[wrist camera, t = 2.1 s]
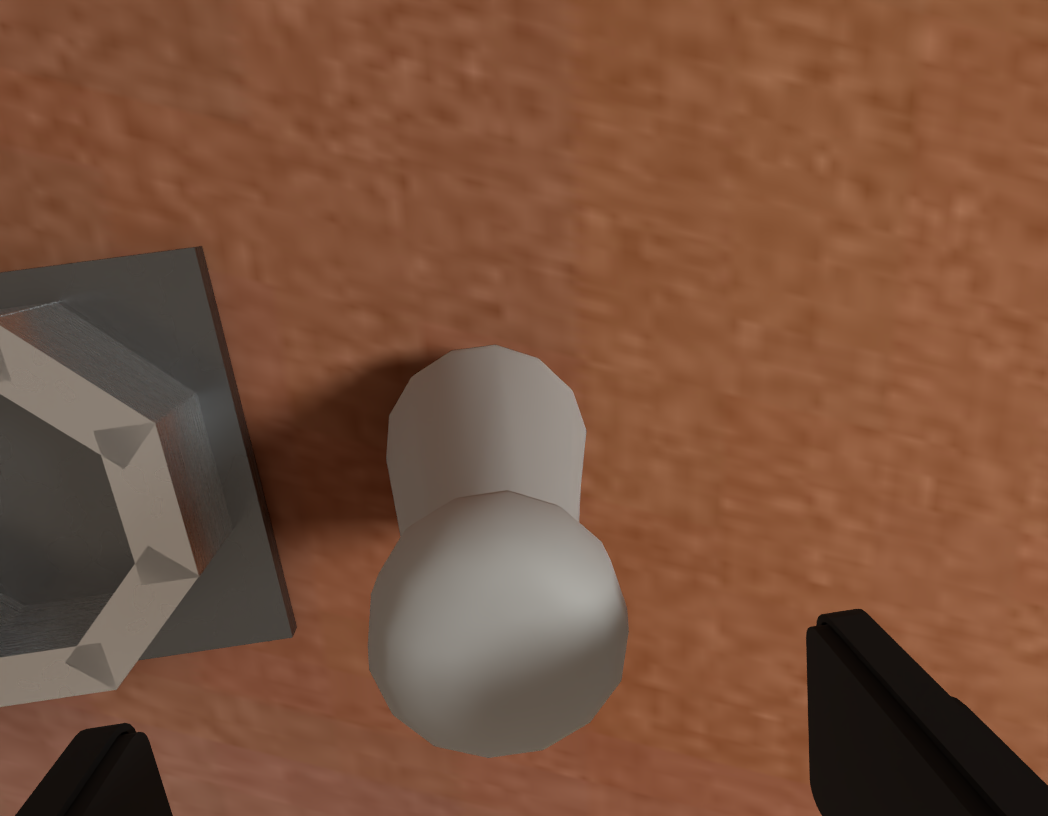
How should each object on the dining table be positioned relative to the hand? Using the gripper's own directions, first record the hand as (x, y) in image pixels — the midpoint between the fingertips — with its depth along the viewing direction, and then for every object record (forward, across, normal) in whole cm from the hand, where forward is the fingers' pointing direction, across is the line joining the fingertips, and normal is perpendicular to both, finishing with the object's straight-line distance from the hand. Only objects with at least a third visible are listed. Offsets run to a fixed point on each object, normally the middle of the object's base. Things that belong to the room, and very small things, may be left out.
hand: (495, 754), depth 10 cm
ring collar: (+14, +14, -1) cm, 20 cm away
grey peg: (+14, 0, -1) cm, 14 cm away
